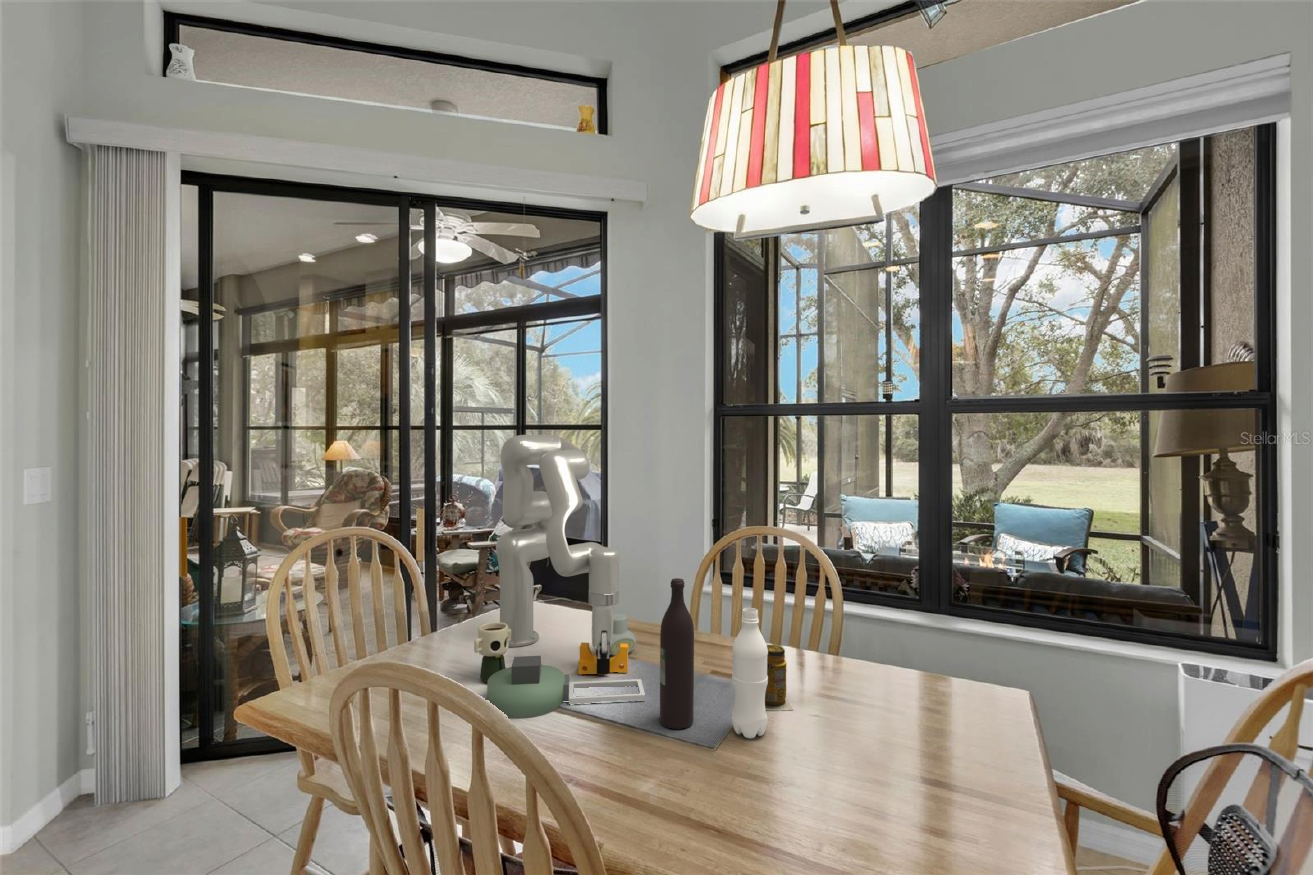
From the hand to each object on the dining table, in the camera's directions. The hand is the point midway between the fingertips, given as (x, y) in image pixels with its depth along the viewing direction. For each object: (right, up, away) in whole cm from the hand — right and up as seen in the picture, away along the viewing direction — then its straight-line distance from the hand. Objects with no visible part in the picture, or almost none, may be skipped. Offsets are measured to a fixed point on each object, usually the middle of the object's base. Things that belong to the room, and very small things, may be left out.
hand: (602, 668), depth 157 cm
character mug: (-26, -1, -5) cm, 27 cm away
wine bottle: (+18, -2, -26) cm, 32 cm away
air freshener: (+3, -1, +14) cm, 14 cm away
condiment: (+40, -2, -16) cm, 43 cm away
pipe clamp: (0, -1, 0) cm, 1 cm away
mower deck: (-7, -1, -15) cm, 17 cm away
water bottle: (+32, -2, -30) cm, 45 cm away
